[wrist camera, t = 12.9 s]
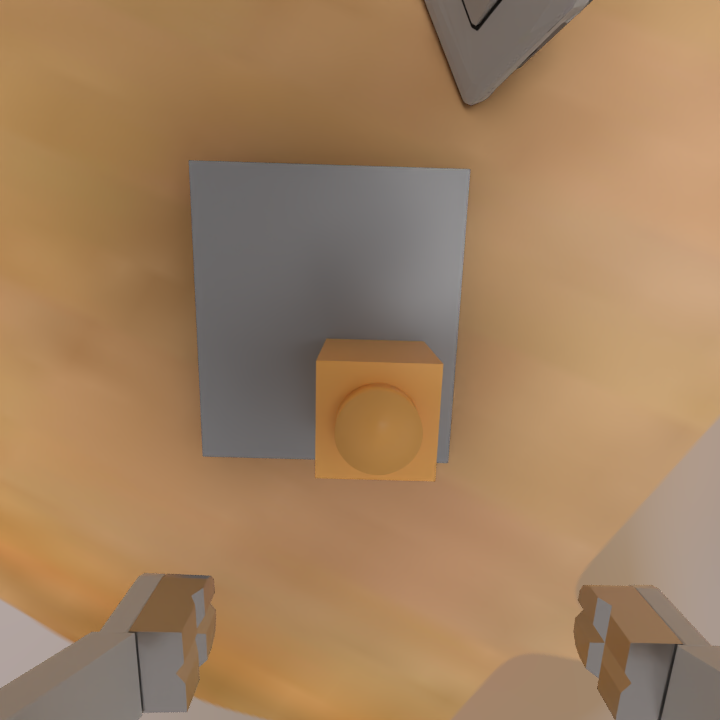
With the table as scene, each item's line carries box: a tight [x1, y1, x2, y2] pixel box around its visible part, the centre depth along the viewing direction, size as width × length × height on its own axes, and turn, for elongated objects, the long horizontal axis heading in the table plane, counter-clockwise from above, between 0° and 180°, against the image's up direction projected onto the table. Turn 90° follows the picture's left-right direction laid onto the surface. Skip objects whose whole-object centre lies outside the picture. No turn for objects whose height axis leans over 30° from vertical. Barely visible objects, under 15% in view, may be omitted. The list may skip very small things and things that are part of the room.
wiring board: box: [189, 160, 470, 463], centre depth 26 cm, size 18×16×6 cm
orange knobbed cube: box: [315, 339, 443, 481], centre depth 24 cm, size 6×6×8 cm
